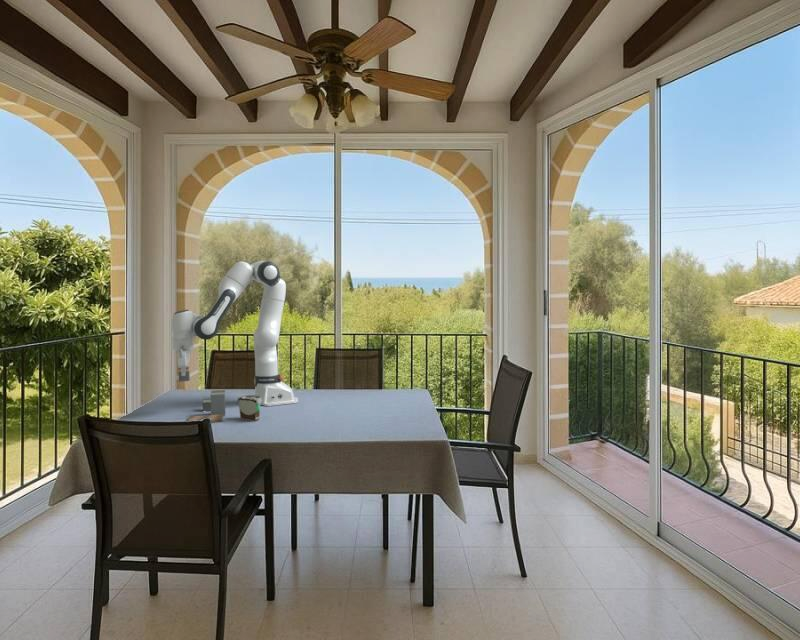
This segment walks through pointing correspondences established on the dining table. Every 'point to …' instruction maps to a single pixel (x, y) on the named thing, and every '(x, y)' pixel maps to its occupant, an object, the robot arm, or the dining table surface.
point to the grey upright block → (217, 402)
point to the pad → (213, 417)
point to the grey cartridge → (206, 403)
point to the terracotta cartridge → (187, 376)
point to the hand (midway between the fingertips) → (184, 374)
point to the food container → (249, 407)
